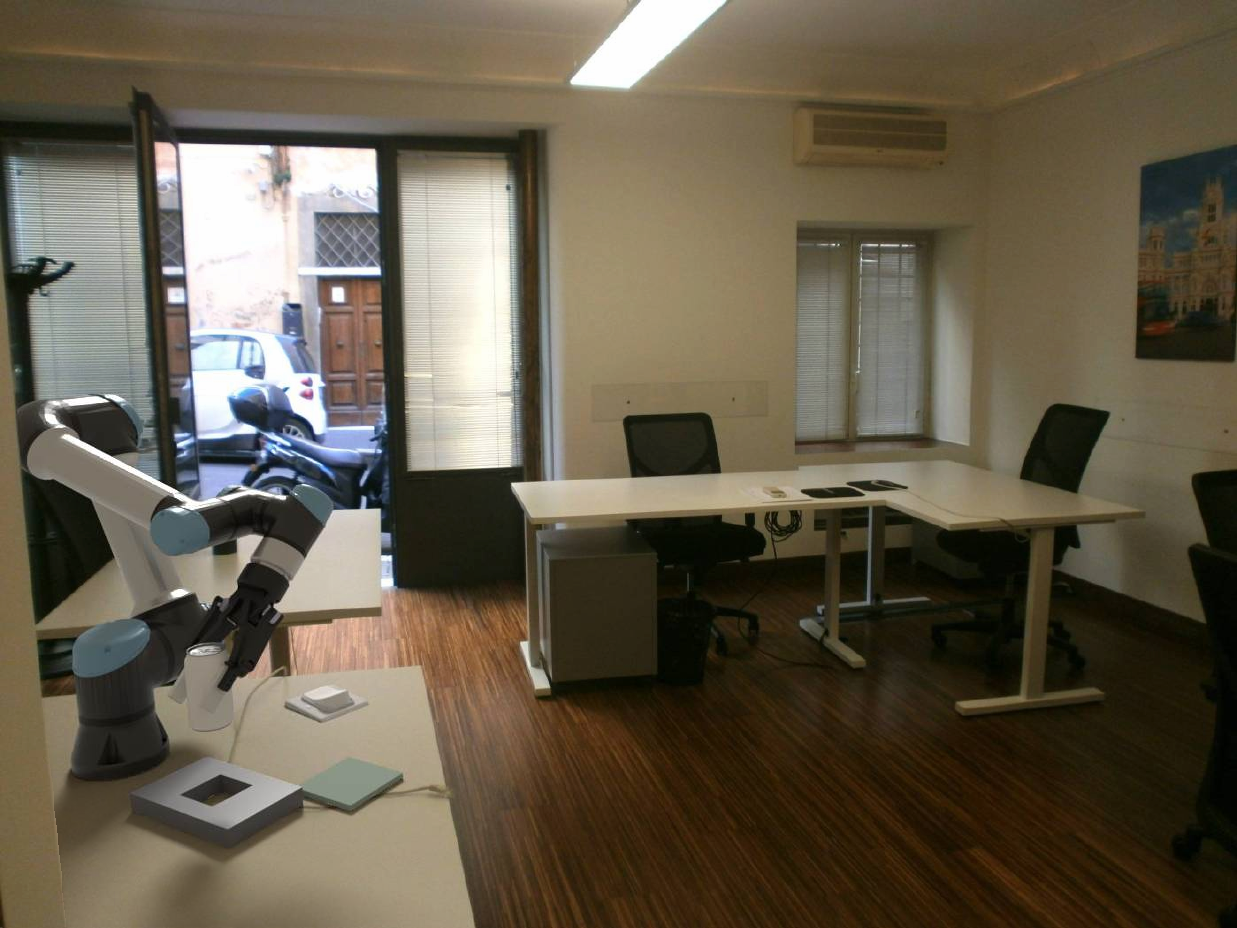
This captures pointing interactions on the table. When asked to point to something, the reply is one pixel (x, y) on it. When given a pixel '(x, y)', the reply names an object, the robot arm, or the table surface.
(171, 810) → the block
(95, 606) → the table surface
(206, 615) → the robot arm
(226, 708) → the can
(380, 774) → the mat
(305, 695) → the light switch
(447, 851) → the table surface
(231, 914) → the table surface
